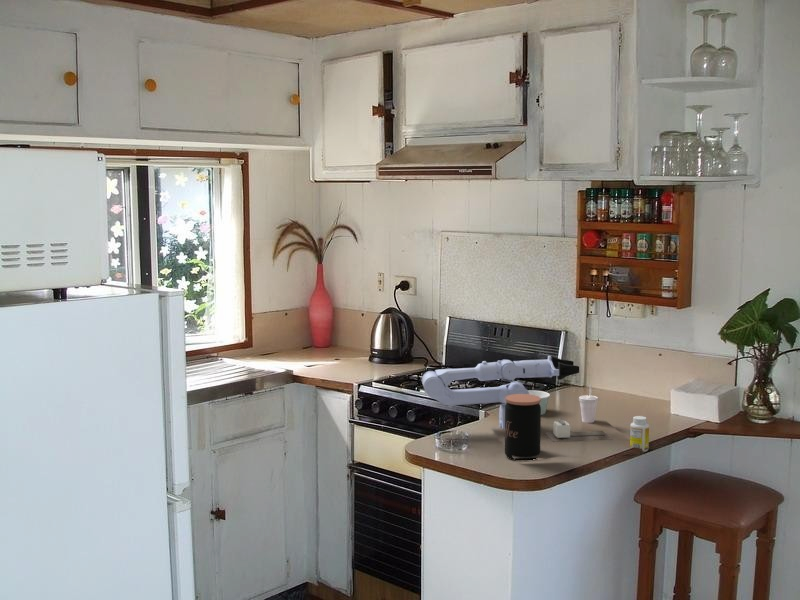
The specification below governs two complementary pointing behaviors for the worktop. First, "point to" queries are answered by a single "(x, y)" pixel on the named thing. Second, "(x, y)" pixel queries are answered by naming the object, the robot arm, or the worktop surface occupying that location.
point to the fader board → (581, 436)
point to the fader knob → (561, 429)
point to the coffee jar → (522, 426)
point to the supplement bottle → (639, 433)
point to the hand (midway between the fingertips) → (576, 366)
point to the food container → (544, 399)
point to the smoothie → (588, 407)
